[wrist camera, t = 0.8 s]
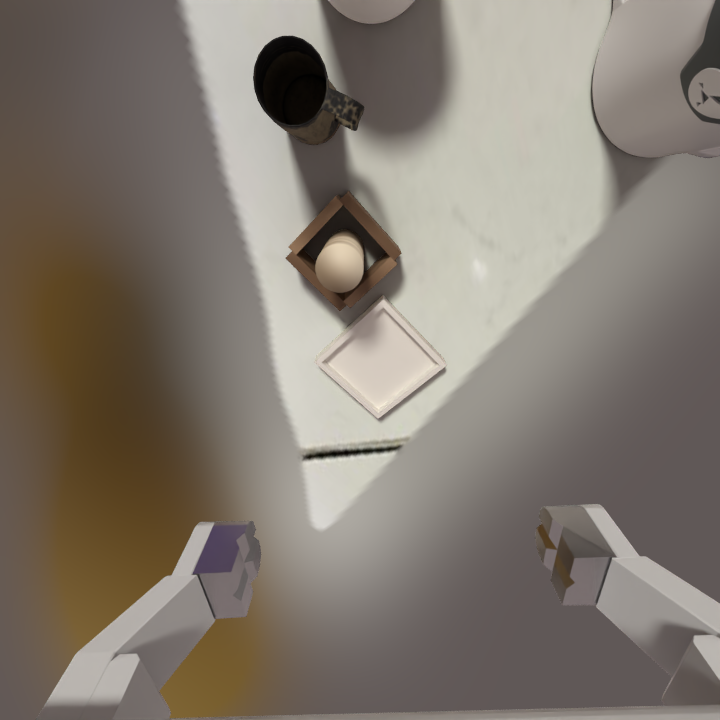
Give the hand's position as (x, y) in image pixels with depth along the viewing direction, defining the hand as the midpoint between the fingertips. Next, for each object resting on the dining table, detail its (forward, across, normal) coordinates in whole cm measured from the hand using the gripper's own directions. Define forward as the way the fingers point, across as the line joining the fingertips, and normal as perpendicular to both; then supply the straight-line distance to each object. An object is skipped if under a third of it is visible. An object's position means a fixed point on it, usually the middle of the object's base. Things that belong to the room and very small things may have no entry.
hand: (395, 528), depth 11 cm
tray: (+34, 0, +10) cm, 35 cm away
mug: (+34, +4, -15) cm, 37 cm away
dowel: (+34, +3, -2) cm, 34 cm away
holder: (+34, +3, -2) cm, 34 cm away
